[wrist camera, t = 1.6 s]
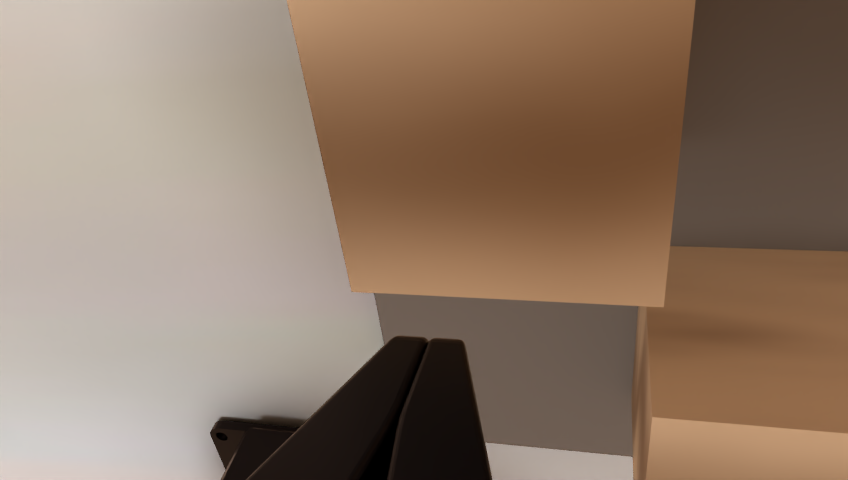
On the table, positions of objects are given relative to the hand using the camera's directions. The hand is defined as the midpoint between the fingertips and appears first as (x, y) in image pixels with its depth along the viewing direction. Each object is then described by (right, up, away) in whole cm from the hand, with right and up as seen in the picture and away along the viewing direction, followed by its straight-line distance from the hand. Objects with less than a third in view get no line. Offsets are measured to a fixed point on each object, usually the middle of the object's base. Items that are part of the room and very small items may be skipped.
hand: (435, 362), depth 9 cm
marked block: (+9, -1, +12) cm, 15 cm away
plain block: (+2, +6, +8) cm, 11 cm away
